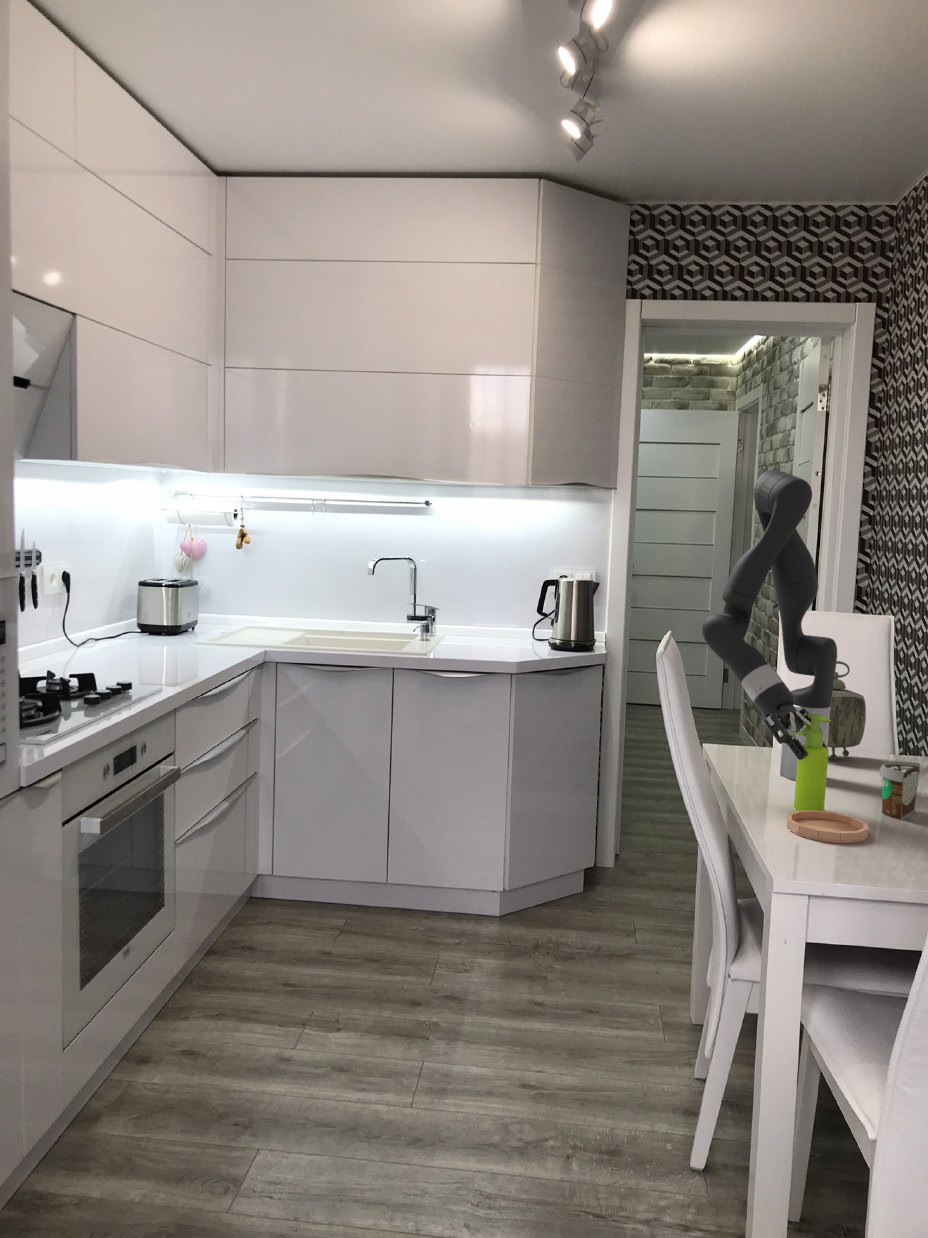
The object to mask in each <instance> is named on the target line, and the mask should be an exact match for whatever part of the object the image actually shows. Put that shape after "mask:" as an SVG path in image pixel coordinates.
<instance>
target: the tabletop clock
mask: <svg viewBox="0 0 928 1238" xmlns="http://www.w3.org/2000/svg"><path fill="white" fill-rule="evenodd" d="M838 664H839V665H842V666H845V668H847V672H845V673H843V674H839V673H838V671H835V677H834V686H833V693H832V698H831V706H830V720H831V722H829V733H828V746H827V747H828V748H831V753H832V754H831V755H830V758H829V759H830V760H831V761H834V762H835V761H836V760H837V759H838V755H837V754H836V749H837V748H838V749H840V748H841V749H843V750H842V753H841V754H842V756H843V757H848V756H849V755H850V751H849V750H847V748H853V747H856V746H859V745H860V744H861V742H862V740H863V737H864V733H865V727H866V723H867V721H866V720H867V719H866V718H867V717H866V716H867V715H866V713H867V712H866V711H867V707H866V700H865V698H864V695H862V694H860V693H858V692H855V691H852V690H850V689H847V687H846V684H845V682H844V681H843V680H841V679H842V678H844V677H847V676H848V675H849V673H850V670H851V669H850V666H849V665H848V664H847V663H846V662H844V661H840V660H837V663H836V665H838ZM840 678H841V679H840Z"/></svg>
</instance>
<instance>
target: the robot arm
mask: <svg viewBox="0 0 928 1238" xmlns="http://www.w3.org/2000/svg"><path fill="white" fill-rule="evenodd" d="M812 498H813V489H812V486H811V485H810V483H809V482H807V481H806V480H805V479H802V478H801V477H798V476H795V475H793V474H791V473H787V472H785V471H781V470H778V469H777V470H776V469H770V470H766V471H764V472H763V473H761V474H760V476H758V478H757V480H756V482H755V484H754V488H753V500H754V505H755V508H756V511H757V515H758V518H759V521H760V523H761V528H762V531H763V534H762V535H761V536H760V537H759V539H758V540H757V541H756V542H755V544H753V545H752V546H751V547H750V548H749V549H748V550H747V551H746V552H745V553H744V554H743V555H741V557H740V558H739V559H738V560H737V562H736V563H735V565H734V566H733V568H732V570H731V573H730V575H729V577H728V580H727V582H726V584H725V586H724V589H723V592H722V596H721V597H722V600H723V601H724V602H725V604H724V607H723V611H722V613H720V614H719V613H717V614H712V615H710V616H708V617H706V619H704V621H703V623H702V626H701V634H702V637H703V639H704V640H705V642H706V644H707V645H708V647H709V648H710V649H711V650H712V651H713V652H714V653H715V654H716V655H717V656H718V657H719V659H720V660H722V661H723V662H724V663H725V664H726V665H727V666H728V667H729V668H730V669H731V671H732V672H733V674H734V675H735V676H736V678H737V680H738V681H739V682H740V684H741V686H743V689H744V691H745V692H746V694H747V695H748V697H749V698H750V700H751V701H752V702H753V704H754V705H755V707H756V708H757V710H758V711H759V713H760V714H761V715H762V716H763V718H764V720H763V721H764V722H763V723H765V725H766V726H767V728H768V730H769V731H770V732H771V734H772V735H773V737H774V738H775V740H776V741H777V742H778V744H780V745H781V754H780V756H781V757H780V767H779V775H780V776H783V777H785V778H787V779H790V780H795V781H796V772H797V759H799V760H802V759H804V758H805V757H806V756H807V755H808V753H807V751H806V750H805V748H804V747H803V746H802V745H805V738H806V730H809V729H810V728H811V718H810V717H808V714H817V715H822V716H825V717H827V718H829V719H830V706H831V698H832V693H833V686H834V677H835V672H836V669H837V664H836V663H837V661H838V646H837V643H836V641H835V640H834V639H833V638H831V637H827V636H817V635H809V634H804V632H803V627H802V622H803V619H804V617H805V615H806V614H807V612H808V610H809V609H810V607H811V606H812V604H813V602H814V600H815V598H816V597H817V594H818V591H819V582H818V577H817V572H816V571H817V570H816V566H815V561H814V558H813V557H812V554H811V552H810V550H809V548H808V547H807V545H806V544H805V542H804V541H803V539H802V537H801V535H800V533H799V531H798V530H797V529H798V526H799V524H800V523H801V522H802V520H803V518H804V517H805V515H806V513H807V511H808V509H809V508H810V505H811V502H812ZM770 570H771V576H772V581H773V587H774V592H775V596H776V600H777V605H778V606H777V607H778V611H779V616H780V623H781V625H780V626H781V636H782V647H783V648H782V649H783V656H784V662H785V666H786V668H787V669H788V671H789V672H790V673H794V674H796V675H804V676H808V677H809V676H811V677H813V681H812V684H810V685H808V686H806V687H802V688H797V689H794V690H793V689H792V690H790V689H789V687H788V686H787V684H785V682H784V680H782V678H781V677H780V675H779V674H778V673H777V671H776V670H775V669H773V667H772V666H771V665H770V664H769V663H768V662H767V660H766V659H765V657H764V656H763V654H762V653H761V652H760V651H759V649H757V648H756V646H754V645H751V644H749V643H748V642H746V640H745V639H744V638H745V637H746V635H747V632H748V629H749V626H750V622H751V617H752V615H753V614H752V613H753V607H754V604H755V603H756V600H757V598H758V596H759V593H760V592H761V589H762V587H763V584H764V582H765V580H766V578H767V576H768V574H769V572H770ZM819 729H820V730H821V731H823V745H822V747H825V748H827V749H828V750H829V747H827V746H828V733H829V722H821V721H820V727H819Z"/></svg>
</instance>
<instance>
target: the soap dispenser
mask: <svg viewBox="0 0 928 1238" xmlns="http://www.w3.org/2000/svg"><path fill="white" fill-rule="evenodd" d="M808 717H810V718H811V728H810V729H809V730H806V738H805V745H802V746H803V747H804V748H805V750H806V751H807V753H808V755H807V756H806V757H805V758H804V759H802V760H799V759H797V772H796V780H795V785H794V786H795V787H794V789H795V790H794V801H793V809H794V808H795V809H796V810H798V811H805V810H817V811H825V801H826V800H825V799H826V791H827V790H826V789H827V788H826V787H827V777H828V775H827V774H828V765H829V764H828V761H829V748H828V749H827V748H825V747H822V745H823V731H821V730H820V729H819V727H820V721H821V722H831V720H830V719H829V718H827V717H825V716H822V715H817V714H808ZM796 810H795V811H796Z"/></svg>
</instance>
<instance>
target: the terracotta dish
mask: <svg viewBox="0 0 928 1238" xmlns="http://www.w3.org/2000/svg"><path fill="white" fill-rule="evenodd" d="M787 828H788V829H789V830H791V831H792V832H794V833H795V834H794V833H793V834H794V835H796V834H798V835H797V836H799V837H801V836H802V838H805V837H806V839H809V840H812V841H818V842H823V843H831V844H857V843H861V842H864V841H866V840H867V838H868V836H869V831H870V828H869V825H868V823H867V822H866V821H863V820H861V819H859V818H857V817H855V816H851V815H846V814H843V813H839V812H833V811H825V810H824V811H817V810H805V811H796V810H794V811H792V812H789V813H787V814H786V829H787ZM788 829H787V830H788ZM789 830H788V831H789ZM791 831H790V832H791ZM792 832H791V833H792Z"/></svg>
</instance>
